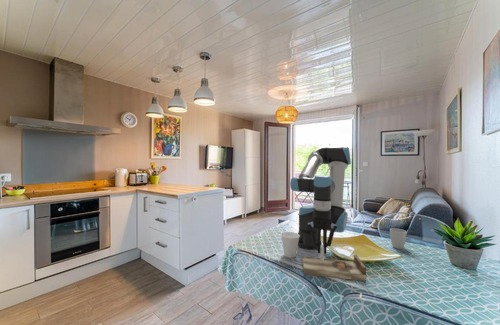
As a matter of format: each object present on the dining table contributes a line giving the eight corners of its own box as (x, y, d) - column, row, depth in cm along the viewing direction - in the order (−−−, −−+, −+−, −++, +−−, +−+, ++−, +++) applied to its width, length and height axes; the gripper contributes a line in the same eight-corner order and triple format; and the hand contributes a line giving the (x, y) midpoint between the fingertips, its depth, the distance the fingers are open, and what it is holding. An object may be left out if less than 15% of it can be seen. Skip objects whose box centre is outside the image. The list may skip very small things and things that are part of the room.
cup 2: (409, 248, 120) (409, 231, 121) (400, 250, 117) (400, 233, 118) (395, 243, 128) (395, 227, 128) (386, 245, 125) (386, 228, 125)
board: (302, 261, 102) (302, 250, 103) (356, 267, 98) (356, 255, 98) (304, 274, 91) (304, 261, 91) (365, 281, 86) (366, 267, 86)
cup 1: (300, 253, 112) (300, 232, 113) (299, 261, 103) (299, 239, 103) (281, 250, 115) (281, 231, 115) (279, 258, 106) (279, 237, 106)
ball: (334, 264, 96) (340, 259, 95) (339, 270, 96) (345, 266, 95) (336, 268, 92) (342, 263, 92) (341, 274, 92) (348, 270, 92)
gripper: (308, 210, 93) (307, 262, 93) (339, 211, 91) (338, 265, 91) (306, 206, 100) (306, 255, 100) (335, 208, 98) (334, 257, 98)
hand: (321, 260), depth 95 cm, fingers closed
